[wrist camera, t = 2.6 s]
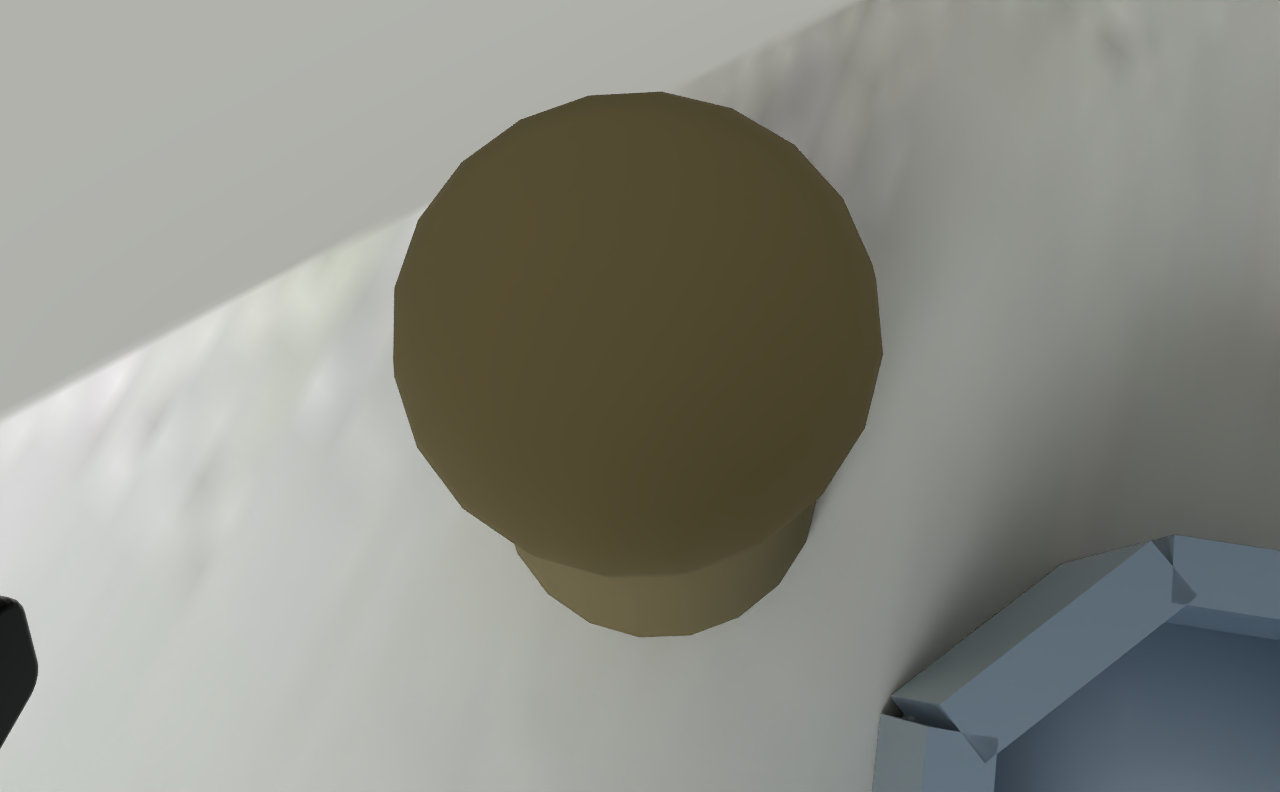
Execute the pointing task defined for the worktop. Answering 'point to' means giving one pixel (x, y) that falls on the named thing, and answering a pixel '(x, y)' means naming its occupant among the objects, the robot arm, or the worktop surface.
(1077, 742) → the bowl
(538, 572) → the cork
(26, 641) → the robot arm
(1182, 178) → the worktop surface
